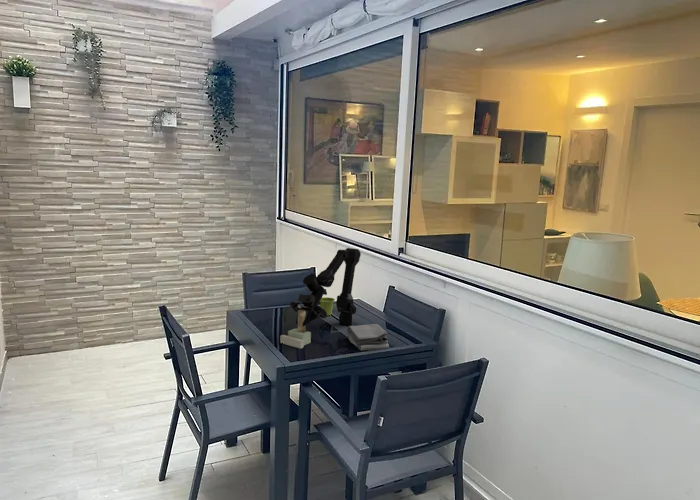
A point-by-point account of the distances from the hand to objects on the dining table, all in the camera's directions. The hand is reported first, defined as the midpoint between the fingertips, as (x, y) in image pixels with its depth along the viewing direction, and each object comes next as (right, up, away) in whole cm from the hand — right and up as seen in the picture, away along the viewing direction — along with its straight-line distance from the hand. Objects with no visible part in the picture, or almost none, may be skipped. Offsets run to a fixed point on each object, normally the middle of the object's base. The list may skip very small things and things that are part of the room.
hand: (299, 325), depth 230 cm
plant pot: (+10, -2, +48) cm, 49 cm away
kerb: (-3, -9, -3) cm, 10 cm away
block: (0, -8, +1) cm, 8 cm away
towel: (+31, -9, +3) cm, 32 cm away
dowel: (+1, -6, +2) cm, 7 cm away
